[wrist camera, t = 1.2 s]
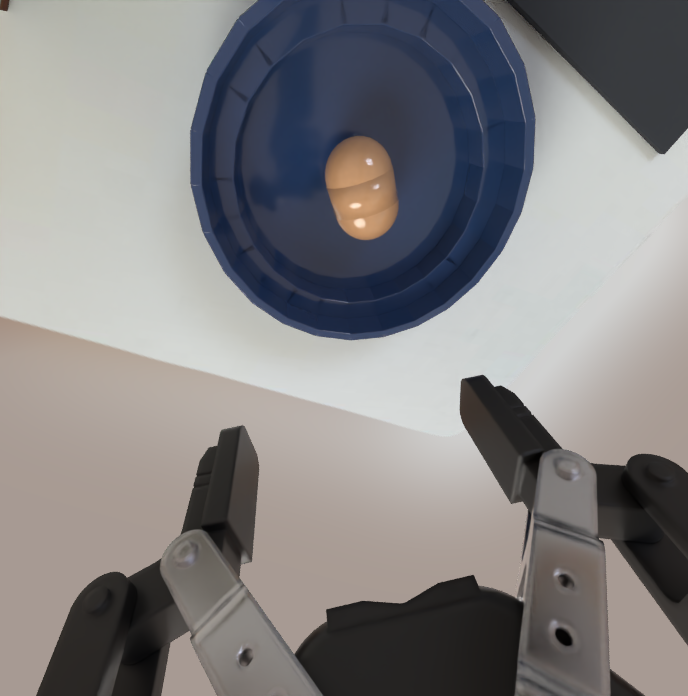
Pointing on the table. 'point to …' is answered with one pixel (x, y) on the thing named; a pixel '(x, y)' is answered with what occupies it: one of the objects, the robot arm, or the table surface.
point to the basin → (372, 121)
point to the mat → (625, 56)
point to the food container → (4, 5)
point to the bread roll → (362, 187)
